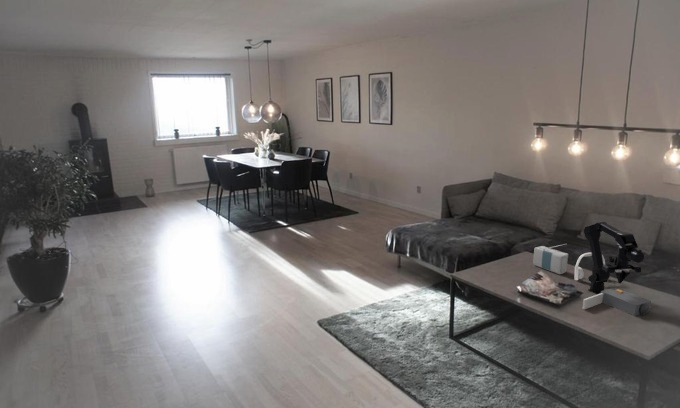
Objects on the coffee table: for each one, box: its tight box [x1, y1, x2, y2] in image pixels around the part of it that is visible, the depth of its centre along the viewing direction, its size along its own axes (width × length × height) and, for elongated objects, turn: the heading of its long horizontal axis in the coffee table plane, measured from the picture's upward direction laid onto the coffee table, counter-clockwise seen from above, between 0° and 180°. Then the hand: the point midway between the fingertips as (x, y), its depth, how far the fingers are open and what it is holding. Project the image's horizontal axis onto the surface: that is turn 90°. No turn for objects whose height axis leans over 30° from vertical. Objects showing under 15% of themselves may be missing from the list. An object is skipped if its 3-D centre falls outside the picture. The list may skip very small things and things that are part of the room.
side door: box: [582, 293, 604, 310], centre depth 252 cm, size 17×2×6 cm, turn 119°
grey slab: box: [601, 287, 652, 317], centre depth 250 cm, size 21×12×7 cm, turn 23°
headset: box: [573, 251, 606, 281], centre depth 287 cm, size 20×7×18 cm, turn 101°
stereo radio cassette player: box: [532, 243, 569, 275], centre depth 304 cm, size 21×8×20 cm, turn 28°
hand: (619, 282), depth 253 cm, fingers closed
